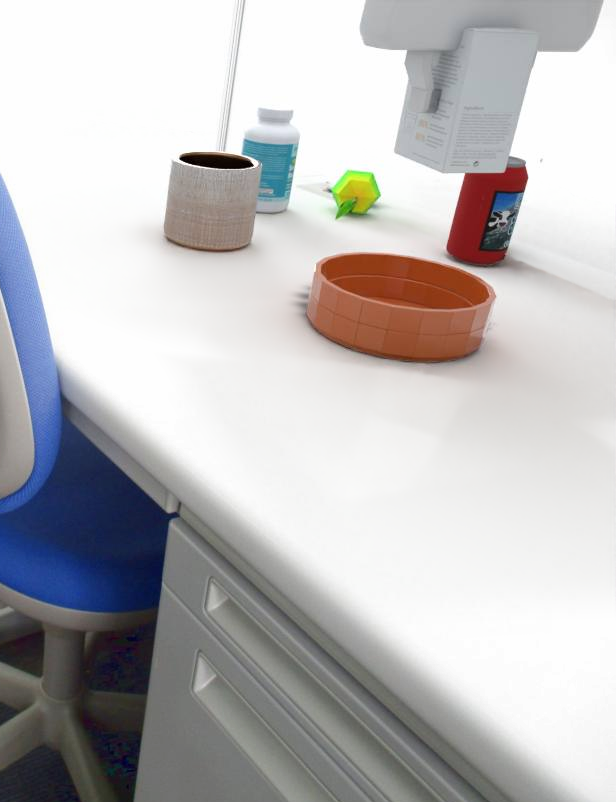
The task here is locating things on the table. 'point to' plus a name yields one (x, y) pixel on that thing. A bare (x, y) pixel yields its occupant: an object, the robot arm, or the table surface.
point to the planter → (212, 200)
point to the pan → (400, 306)
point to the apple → (355, 192)
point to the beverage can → (487, 214)
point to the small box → (472, 103)
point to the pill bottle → (273, 155)
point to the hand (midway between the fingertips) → (459, 111)
